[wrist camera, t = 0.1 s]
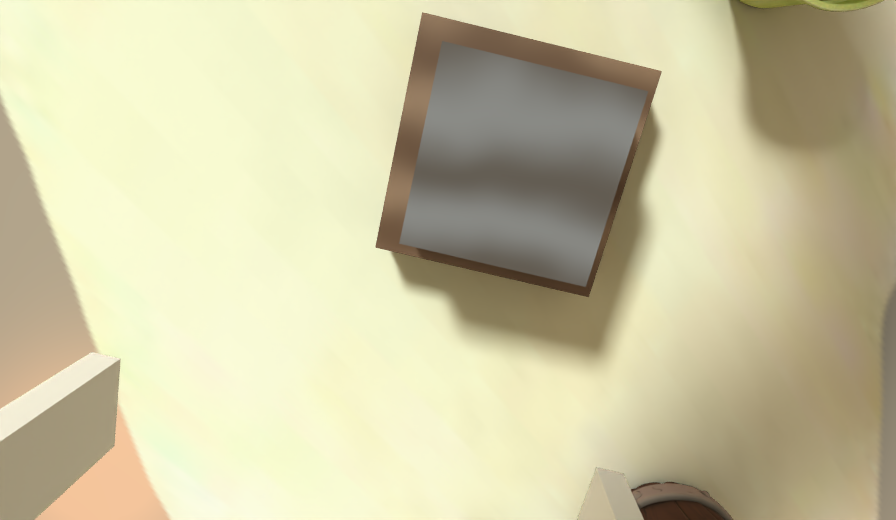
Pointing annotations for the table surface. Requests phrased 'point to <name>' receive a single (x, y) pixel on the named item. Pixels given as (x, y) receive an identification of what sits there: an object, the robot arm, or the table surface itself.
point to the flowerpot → (677, 503)
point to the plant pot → (815, 4)
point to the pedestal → (512, 154)
